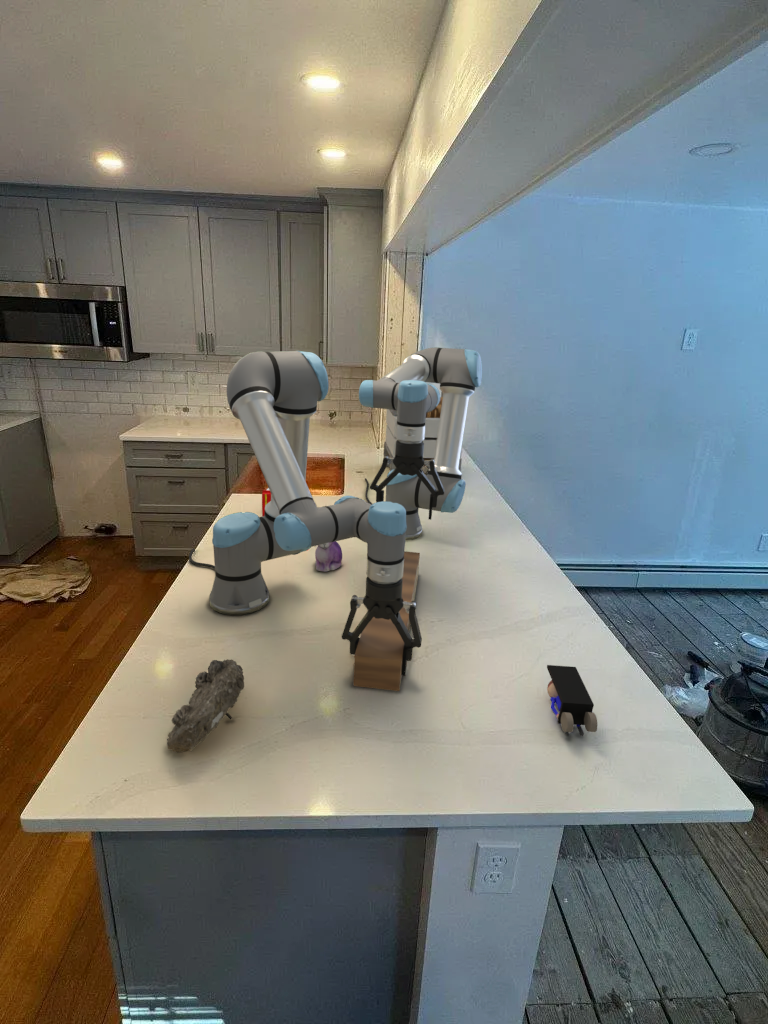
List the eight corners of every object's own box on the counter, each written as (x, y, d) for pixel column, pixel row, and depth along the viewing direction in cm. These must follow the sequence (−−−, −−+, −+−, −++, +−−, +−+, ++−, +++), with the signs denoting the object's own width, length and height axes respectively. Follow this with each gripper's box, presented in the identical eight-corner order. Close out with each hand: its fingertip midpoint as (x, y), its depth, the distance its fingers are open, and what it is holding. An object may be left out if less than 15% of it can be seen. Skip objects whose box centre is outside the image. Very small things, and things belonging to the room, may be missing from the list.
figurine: (319, 575, 166) (320, 527, 161) (307, 561, 175) (307, 516, 170) (349, 569, 170) (350, 523, 165) (336, 556, 179) (336, 512, 174)
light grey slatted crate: (382, 463, 289) (386, 382, 275) (445, 464, 293) (451, 384, 279) (390, 482, 257) (394, 392, 243) (460, 483, 261) (468, 394, 247)
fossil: (192, 660, 117) (244, 628, 112) (224, 691, 120) (276, 661, 115) (142, 746, 98) (202, 712, 93) (182, 779, 101) (242, 748, 96)
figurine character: (595, 749, 106) (570, 690, 120) (603, 719, 103) (577, 662, 116) (559, 748, 106) (538, 690, 119) (567, 718, 103) (545, 662, 116)
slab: (386, 572, 170) (387, 549, 168) (418, 575, 169) (419, 552, 167) (353, 685, 119) (354, 655, 116) (399, 691, 118) (401, 660, 115)
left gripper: (327, 579, 114) (326, 673, 121) (438, 590, 112) (430, 685, 119) (335, 564, 121) (333, 653, 128) (439, 574, 119) (432, 664, 126)
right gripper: (361, 440, 148) (358, 516, 155) (457, 447, 145) (450, 524, 152) (365, 434, 155) (363, 507, 162) (457, 440, 152) (450, 515, 159)
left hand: (380, 669), depth 124 cm, fingers closed on slab, 10 cm apart
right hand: (405, 516), depth 157 cm, fingers open, 13 cm apart
